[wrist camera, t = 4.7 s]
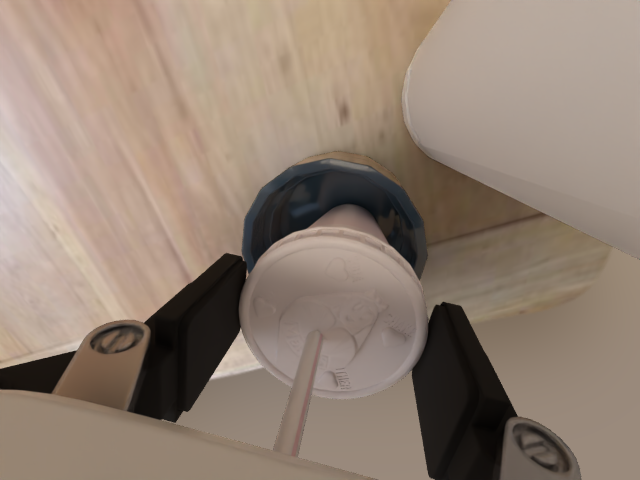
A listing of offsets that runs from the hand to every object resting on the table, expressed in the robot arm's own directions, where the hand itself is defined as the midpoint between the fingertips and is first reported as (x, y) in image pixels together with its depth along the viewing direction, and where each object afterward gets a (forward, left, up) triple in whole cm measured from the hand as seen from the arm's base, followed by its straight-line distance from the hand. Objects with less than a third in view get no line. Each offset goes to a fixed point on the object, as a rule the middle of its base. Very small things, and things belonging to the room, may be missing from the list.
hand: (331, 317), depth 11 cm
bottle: (-5, -9, -11) cm, 15 cm away
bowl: (+1, 0, -10) cm, 10 cm away
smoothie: (0, 0, -9) cm, 9 cm away
